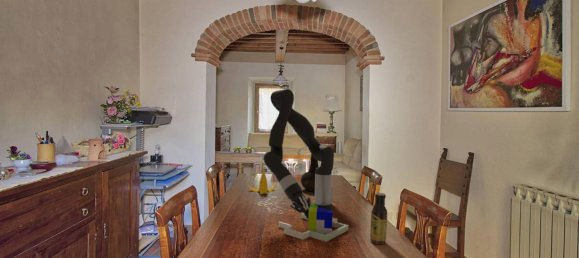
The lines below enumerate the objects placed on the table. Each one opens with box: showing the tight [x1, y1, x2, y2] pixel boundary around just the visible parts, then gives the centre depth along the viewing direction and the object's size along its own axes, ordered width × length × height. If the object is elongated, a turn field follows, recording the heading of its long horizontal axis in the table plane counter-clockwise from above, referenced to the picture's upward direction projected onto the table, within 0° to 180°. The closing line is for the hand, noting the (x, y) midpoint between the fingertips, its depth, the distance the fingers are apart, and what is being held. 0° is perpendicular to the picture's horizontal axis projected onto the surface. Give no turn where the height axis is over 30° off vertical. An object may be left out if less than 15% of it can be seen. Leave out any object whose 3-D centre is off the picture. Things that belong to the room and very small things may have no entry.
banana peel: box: [247, 166, 277, 195], centre depth 210 cm, size 16×19×17 cm
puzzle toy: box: [307, 204, 334, 235], centre depth 140 cm, size 10×10×10 cm
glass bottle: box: [300, 151, 320, 192], centre depth 218 cm, size 18×18×28 cm
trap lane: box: [278, 212, 349, 243], centre depth 143 cm, size 25×27×2 cm
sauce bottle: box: [369, 192, 388, 245], centre depth 129 cm, size 7×6×20 cm
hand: (311, 218), depth 144 cm, fingers closed
